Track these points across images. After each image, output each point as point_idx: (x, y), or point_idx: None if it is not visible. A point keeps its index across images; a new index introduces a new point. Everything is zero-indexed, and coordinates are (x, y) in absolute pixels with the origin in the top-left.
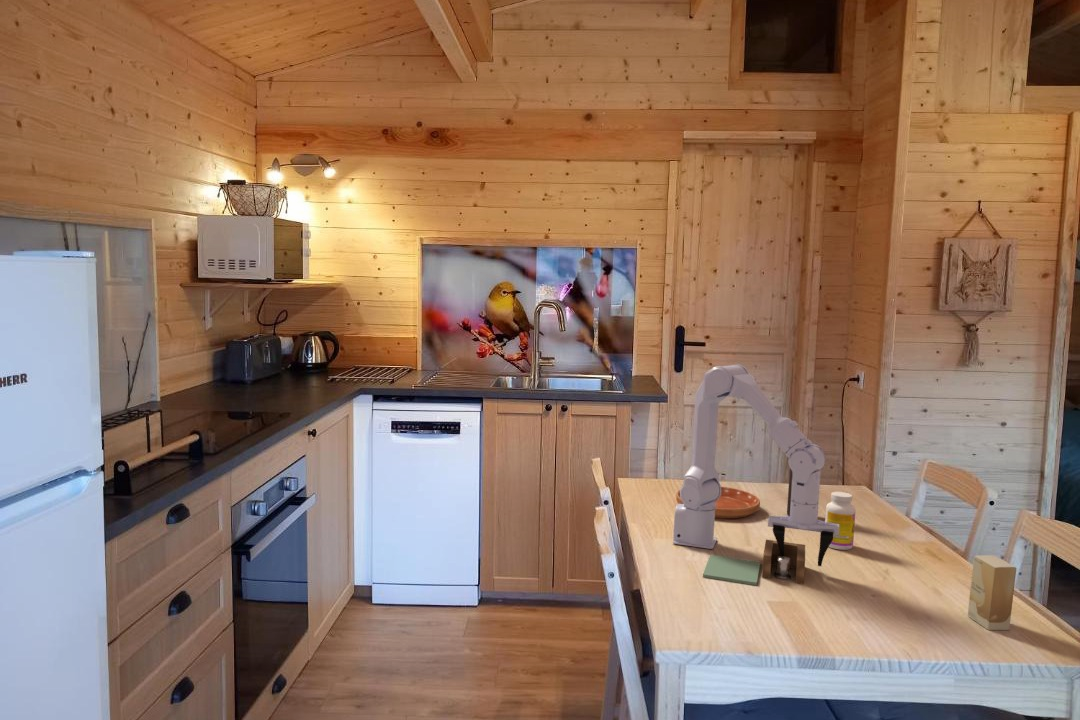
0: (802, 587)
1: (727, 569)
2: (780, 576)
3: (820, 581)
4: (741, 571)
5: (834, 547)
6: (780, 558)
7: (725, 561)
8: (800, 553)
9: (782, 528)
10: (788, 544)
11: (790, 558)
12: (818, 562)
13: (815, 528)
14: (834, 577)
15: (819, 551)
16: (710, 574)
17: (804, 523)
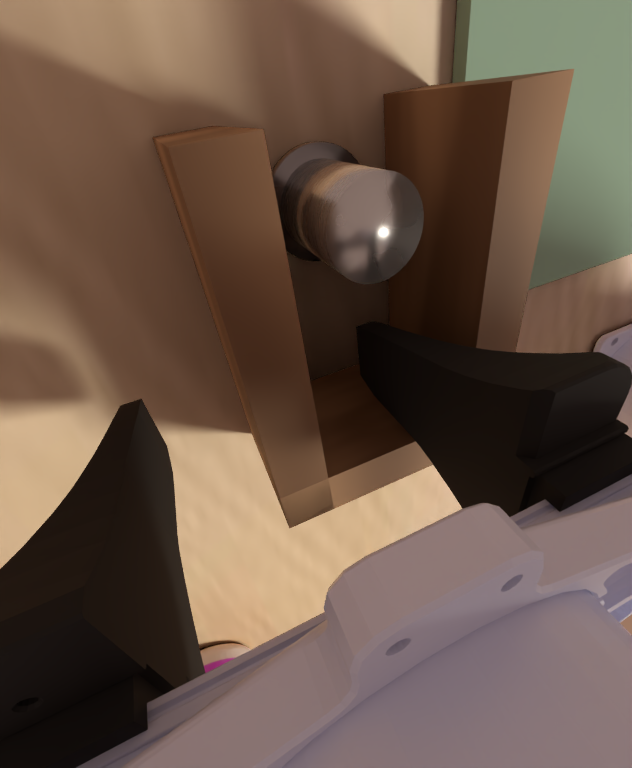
0: (126, 29)
1: (623, 51)
2: (329, 155)
3: (74, 283)
4: (555, 67)
5: (205, 652)
6: (404, 208)
7: (600, 199)
8: (278, 356)
9: (556, 474)
10: (382, 460)
11: (327, 408)
12: (136, 409)
13: (211, 715)
14: (39, 413)
15: (157, 498)
16: None
17: (452, 691)
